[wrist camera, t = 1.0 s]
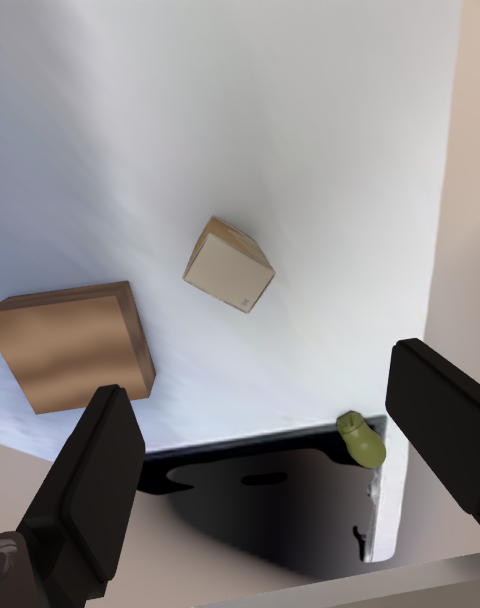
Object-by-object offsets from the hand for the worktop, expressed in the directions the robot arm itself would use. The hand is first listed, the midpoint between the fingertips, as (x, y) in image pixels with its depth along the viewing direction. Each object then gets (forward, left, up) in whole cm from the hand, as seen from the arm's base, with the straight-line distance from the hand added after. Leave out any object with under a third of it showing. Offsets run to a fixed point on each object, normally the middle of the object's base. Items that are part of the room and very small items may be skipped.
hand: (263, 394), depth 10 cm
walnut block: (+10, -19, -25) cm, 33 cm away
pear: (+34, +18, -25) cm, 46 cm away
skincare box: (0, 0, -25) cm, 25 cm away
